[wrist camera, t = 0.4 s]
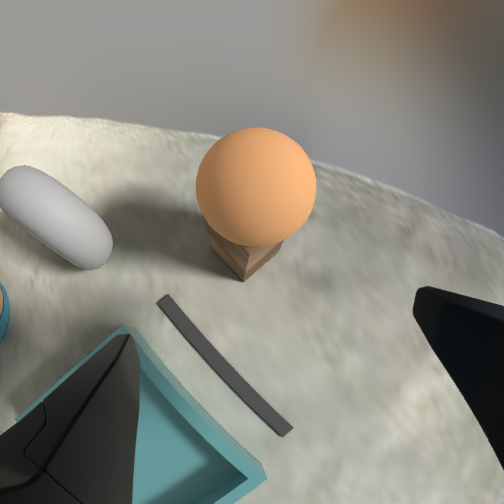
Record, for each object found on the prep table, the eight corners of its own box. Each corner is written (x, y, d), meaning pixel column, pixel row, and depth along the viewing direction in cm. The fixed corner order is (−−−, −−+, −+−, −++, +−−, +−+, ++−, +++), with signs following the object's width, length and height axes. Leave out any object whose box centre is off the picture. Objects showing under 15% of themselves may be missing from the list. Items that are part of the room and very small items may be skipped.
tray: (261, 463, 17) (267, 478, 14) (146, 538, 14) (137, 557, 11) (137, 330, 20) (123, 324, 17) (37, 415, 16) (15, 419, 13)
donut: (34, 240, 22) (-31, 181, 12) (54, 208, 23) (-2, 140, 13) (116, 293, 21) (49, 241, 12) (138, 254, 22) (89, 181, 13)
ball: (320, 220, 18) (357, 160, 12) (248, 285, 16) (260, 241, 11) (253, 158, 19) (264, 88, 14) (179, 210, 17) (163, 143, 12)
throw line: (292, 427, 18) (293, 427, 18) (282, 436, 18) (283, 437, 18) (169, 294, 21) (168, 294, 21) (158, 303, 21) (157, 303, 21)
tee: (278, 251, 23) (294, 216, 18) (243, 282, 22) (249, 254, 17) (246, 219, 24) (252, 177, 18) (210, 247, 23) (207, 209, 17)
